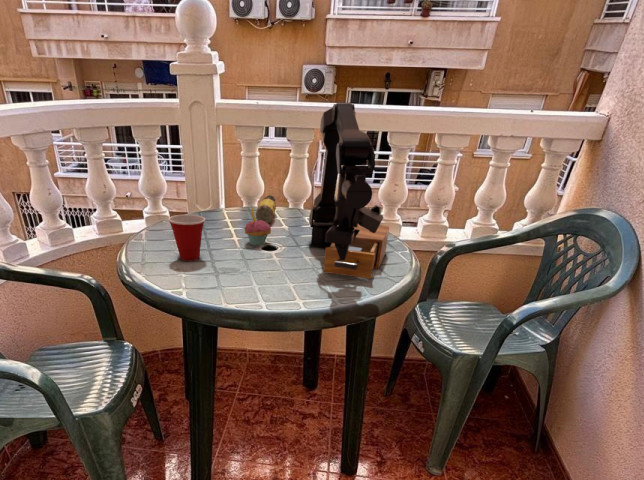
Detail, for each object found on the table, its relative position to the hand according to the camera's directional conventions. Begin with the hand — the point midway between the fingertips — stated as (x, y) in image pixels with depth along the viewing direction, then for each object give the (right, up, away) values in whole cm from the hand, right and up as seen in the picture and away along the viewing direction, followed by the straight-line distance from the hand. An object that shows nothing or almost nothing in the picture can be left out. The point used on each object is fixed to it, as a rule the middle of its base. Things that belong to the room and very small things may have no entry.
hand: (342, 259), depth 125 cm
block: (+5, +3, +15) cm, 16 cm away
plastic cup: (-43, +8, +24) cm, 50 cm away
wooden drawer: (+4, +1, +14) cm, 15 cm away
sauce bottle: (-20, +29, +47) cm, 59 cm away
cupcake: (-22, +15, +34) cm, 44 cm away
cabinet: (+9, +8, +24) cm, 27 cm away
